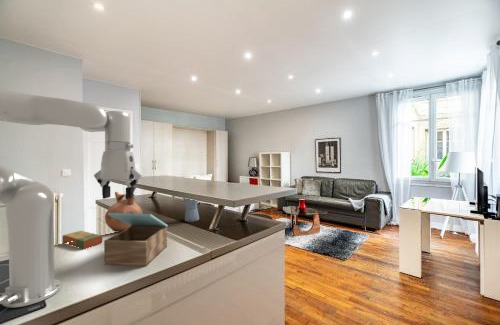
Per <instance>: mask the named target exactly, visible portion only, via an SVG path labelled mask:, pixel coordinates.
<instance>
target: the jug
mask: <svg viewBox="0 0 500 325" xmlns="http://www.w3.org/2000/svg"><path fill="white" fill-rule="evenodd" d="M114 197H115V199H116V200H115V201H116V202H115V203H114V204H112V205H111V206H110V207H109V208H108V209H107V211H106V212H105V214H104V220H105V223H106V225H107V227H109V229H110V230H112V231H113V232H115V233H120V232H121V231H123V230H125V229H127V228H129V227H131V226H130V225H128V224H126V223H124V222H122V221H120V220H117V219H115V218H113V217H111V216H109V215H108V213H130V212H135V213H136V214H143V210H142V208H141V207H140V206H139V205H138V204H137V203H136V202H134V201H135V199H136V194H134V193H133V198H130V199H126V200H123V198H124V197H125V198H126V193H123V194H121V193H119V192H118V191H115V192H114Z"/></svg>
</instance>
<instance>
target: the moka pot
mask: <svg viewBox="0 0 500 325" xmlns="http://www.w3.org/2000/svg"><path fill="white" fill-rule="evenodd" d="M182 199H183V204H184V206H185V211H184V212H185V213H184V222H186V221H187V222H186V223H193V222H198V221H199V220H200V214H199V211H198V210H199V209H198V206H200V205H201V202H199V200H198V201H195V200H190V199H185V198H183V197H182Z"/></svg>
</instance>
